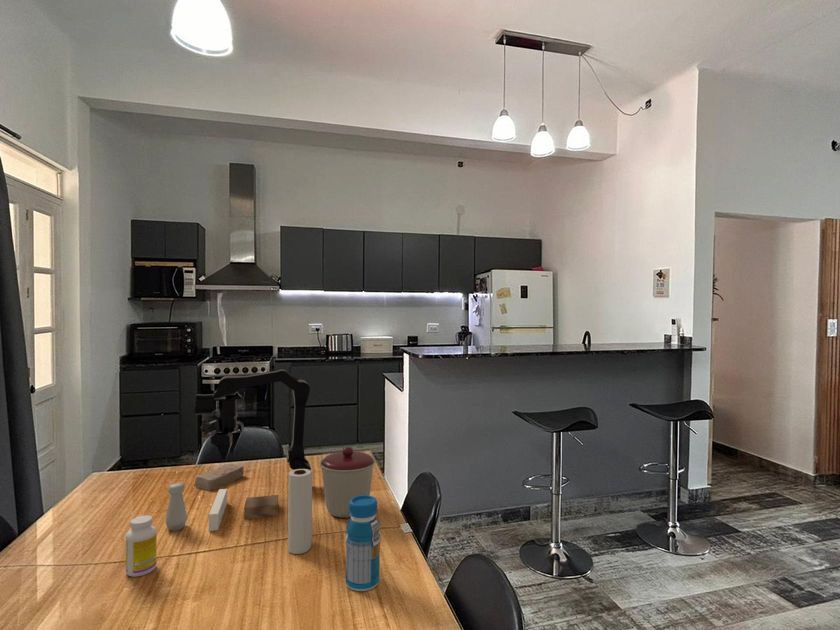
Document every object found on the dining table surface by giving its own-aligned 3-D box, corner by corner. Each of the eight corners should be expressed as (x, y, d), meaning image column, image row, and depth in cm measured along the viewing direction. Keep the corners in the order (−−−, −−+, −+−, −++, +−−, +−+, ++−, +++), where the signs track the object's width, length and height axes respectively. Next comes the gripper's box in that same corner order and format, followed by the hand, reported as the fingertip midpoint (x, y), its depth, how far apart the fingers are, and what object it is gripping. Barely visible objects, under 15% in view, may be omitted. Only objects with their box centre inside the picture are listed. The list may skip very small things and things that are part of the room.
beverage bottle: (350, 596, 106) (350, 509, 106) (341, 577, 114) (341, 496, 114) (384, 588, 110) (385, 504, 110) (373, 569, 118) (374, 491, 117)
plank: (227, 503, 157) (227, 488, 157) (217, 530, 138) (218, 513, 138) (219, 504, 156) (219, 489, 156) (208, 531, 137) (208, 514, 137)
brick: (209, 491, 168) (209, 478, 168) (193, 487, 171) (193, 475, 171) (244, 477, 183) (244, 465, 183) (229, 474, 186) (229, 462, 186)
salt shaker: (191, 525, 141) (191, 482, 141) (174, 533, 135) (174, 489, 135) (178, 521, 143) (178, 479, 143) (161, 529, 138) (161, 486, 138)
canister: (316, 503, 158) (317, 441, 157) (368, 497, 163) (369, 437, 163) (322, 527, 140) (322, 457, 140) (380, 519, 146) (381, 452, 146)
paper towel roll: (290, 557, 123) (291, 476, 123) (285, 546, 129) (286, 469, 128) (317, 550, 127) (317, 472, 126) (311, 541, 132) (312, 466, 132)
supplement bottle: (162, 566, 118) (162, 516, 118) (139, 580, 112) (139, 527, 112) (143, 561, 120) (143, 512, 120) (119, 574, 114) (119, 522, 114)
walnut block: (278, 506, 156) (278, 494, 156) (277, 516, 148) (277, 504, 148) (246, 509, 153) (246, 497, 153) (244, 520, 145) (244, 507, 145)
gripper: (212, 407, 171) (213, 449, 171) (193, 419, 152) (194, 466, 152) (243, 406, 172) (244, 448, 172) (228, 418, 153) (229, 465, 154)
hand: (228, 456), depth 163 cm, fingers open, 9 cm apart
